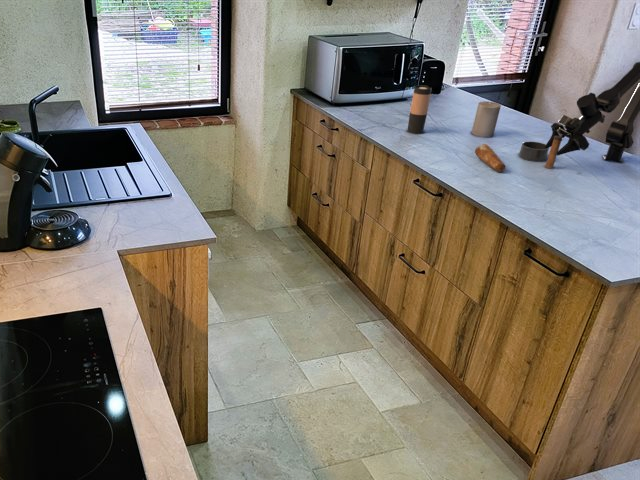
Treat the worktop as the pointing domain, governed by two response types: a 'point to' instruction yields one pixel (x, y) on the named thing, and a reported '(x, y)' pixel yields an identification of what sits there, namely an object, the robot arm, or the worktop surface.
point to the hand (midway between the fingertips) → (550, 151)
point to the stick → (553, 151)
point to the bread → (490, 157)
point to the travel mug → (419, 109)
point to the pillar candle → (486, 119)
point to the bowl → (533, 151)
